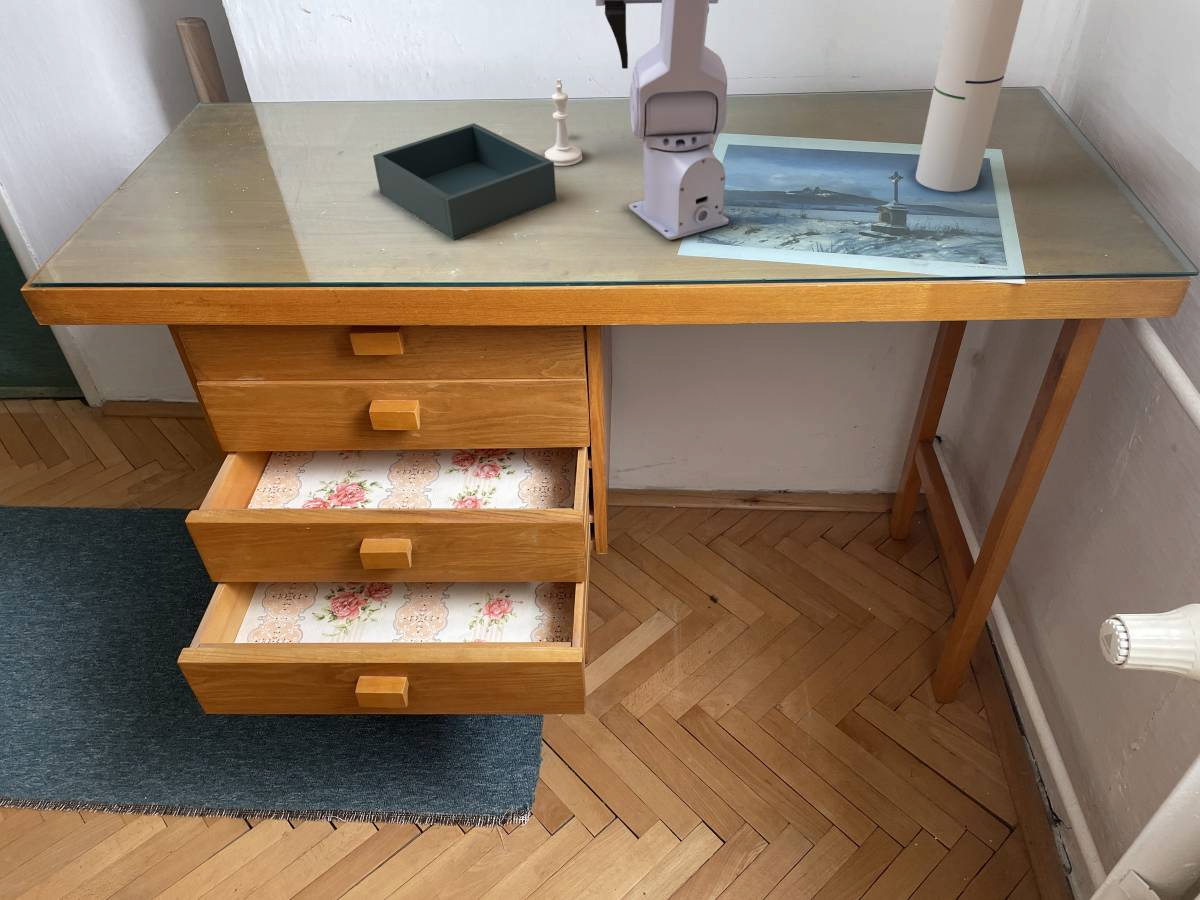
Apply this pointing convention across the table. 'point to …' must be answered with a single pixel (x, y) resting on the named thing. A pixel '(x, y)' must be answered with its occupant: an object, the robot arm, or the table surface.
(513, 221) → the table surface
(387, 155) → the dark green open box
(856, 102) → the table surface
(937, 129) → the cylindrical container
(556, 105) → the chess piece
